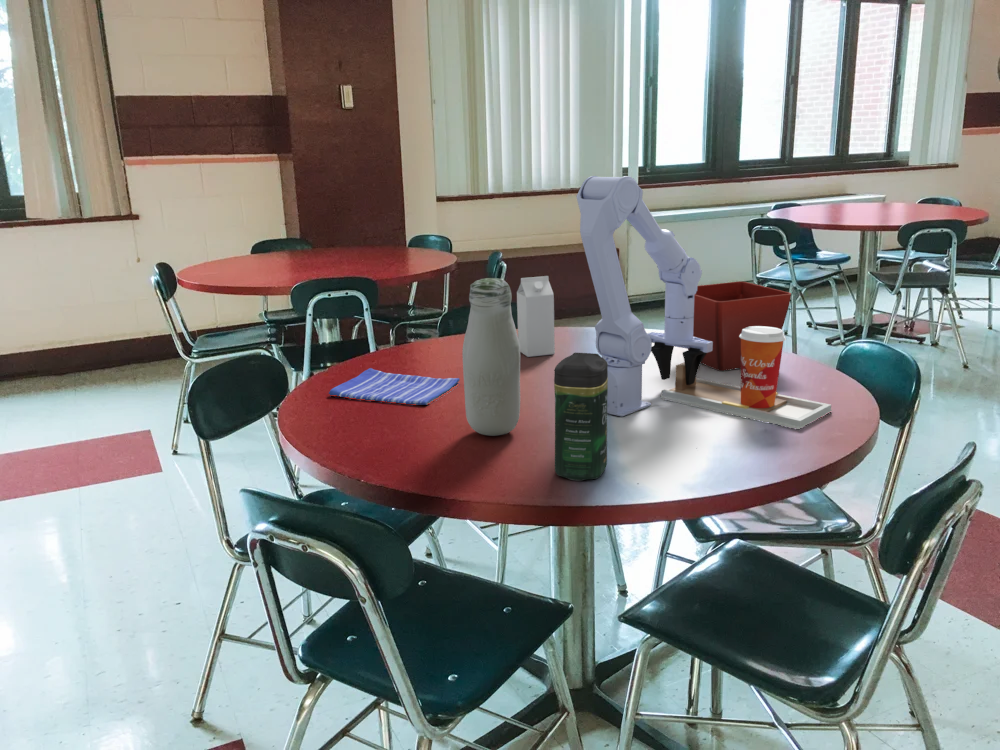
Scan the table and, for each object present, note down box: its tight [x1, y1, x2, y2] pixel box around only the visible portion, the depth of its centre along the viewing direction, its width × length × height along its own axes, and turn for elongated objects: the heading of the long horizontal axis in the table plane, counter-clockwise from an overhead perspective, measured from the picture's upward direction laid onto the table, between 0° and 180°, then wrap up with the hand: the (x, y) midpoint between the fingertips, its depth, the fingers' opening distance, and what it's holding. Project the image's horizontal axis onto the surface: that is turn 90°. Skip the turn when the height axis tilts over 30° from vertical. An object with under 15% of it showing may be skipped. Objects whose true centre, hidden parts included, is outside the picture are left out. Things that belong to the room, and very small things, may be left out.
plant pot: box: [687, 281, 792, 372], centre depth 185 cm, size 19×19×17 cm
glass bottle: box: [462, 277, 521, 437], centre depth 142 cm, size 10×10×28 cm
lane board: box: [660, 377, 833, 430], centre depth 156 cm, size 13×29×2 cm, turn 44°
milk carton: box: [516, 275, 556, 358], centre depth 199 cm, size 7×7×19 cm
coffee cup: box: [739, 326, 787, 408], centre depth 151 cm, size 8×8×15 cm
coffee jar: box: [553, 352, 608, 482], centre depth 125 cm, size 10×8×19 cm
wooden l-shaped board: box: [669, 362, 787, 412], centre depth 158 cm, size 9×21×6 cm, turn 44°
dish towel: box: [328, 367, 460, 406], centre depth 174 cm, size 17×24×3 cm
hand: (677, 381), depth 166 cm, fingers open, 5 cm apart
